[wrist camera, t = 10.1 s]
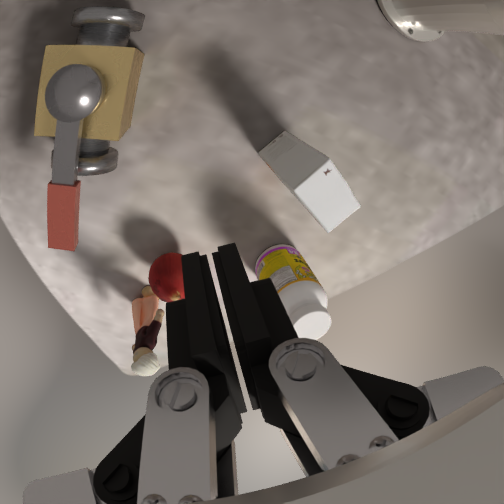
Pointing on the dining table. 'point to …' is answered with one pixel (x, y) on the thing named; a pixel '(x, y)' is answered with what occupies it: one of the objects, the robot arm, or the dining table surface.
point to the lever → (69, 146)
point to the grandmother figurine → (146, 332)
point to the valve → (114, 73)
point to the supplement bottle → (296, 289)
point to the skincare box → (311, 179)
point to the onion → (167, 277)
